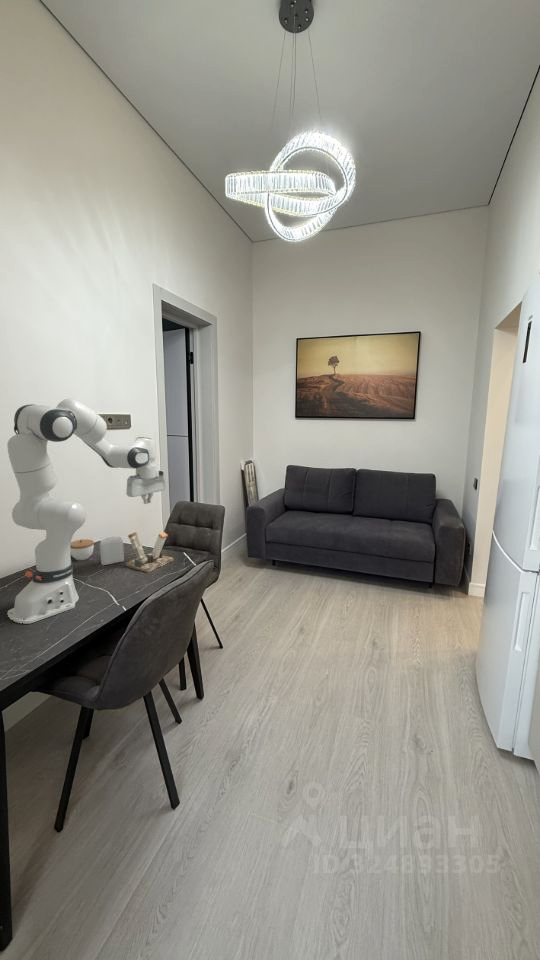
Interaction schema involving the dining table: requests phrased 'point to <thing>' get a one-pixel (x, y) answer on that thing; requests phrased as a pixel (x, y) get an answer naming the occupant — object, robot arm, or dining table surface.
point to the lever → (159, 545)
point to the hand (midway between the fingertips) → (147, 503)
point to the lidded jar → (81, 549)
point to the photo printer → (111, 550)
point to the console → (145, 557)
